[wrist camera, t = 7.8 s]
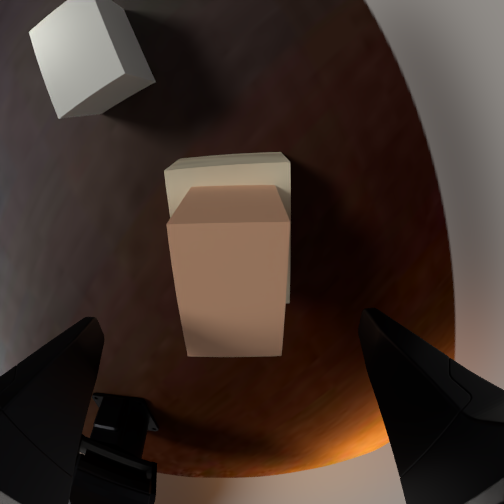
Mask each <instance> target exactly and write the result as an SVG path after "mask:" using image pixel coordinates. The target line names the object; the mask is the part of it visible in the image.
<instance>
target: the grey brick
mask: <svg viewBox="0 0 504 504" xmlns="http://www.w3.org/2000/svg"><path fill="white" fill-rule="evenodd" d="M29 34H30V37H31V41H32V44H33V48H34V51H35V54H36V58H37V61H38V64H39V67H40V70H41V73H42V76H43V79H44V81H45V84H46V87H47V90H48V92H49V95H50V98H51V100H52V103H53V106H54V108H55V111H56V113H57V116H58V118H59V119H63V118H70V117H78V116H87V115H97V114H102V113H104V112H105V111H107V110H109V109H110V108H112V107H113V106H115V105H116V104H118V103H120V102H121V101H123V100H125V99H126V98H128V97H130V96H132V95H133V94H135V93H137V92H139V91H140V90H142V89H144V88H146V87H148V86H149V85H151V84H153V83H155V82H156V81H155V79H154V77H153V74H152V72H151V70H150V68H149V66H148V63H147V61H146V59H145V57H144V54H143V52H142V50H141V48H140V45H139V43H138V41H137V38H136V36H135V34H134V32H133V29H132V27H131V25H130V22H129V20H128V18H127V16H126V13H125V11H124V9H123V8H121V7H120V6H119V5H117V4H116V3H114V2H113V1H112V0H67V1H66V2H65V3H63V4H62V5H61V6H59V7H58V8H57V9H55V10H54V11H53V12H52V13H50V14H49V15H48V16H47V17H46V18H44V19H43V20H42V21H41V22H40V23H39V24H37V25H36V26H35V27H34V28H33V29H32V30H31V31H30V32H29Z"/></svg>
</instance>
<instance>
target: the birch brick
mask: <svg viewBox="0 0 504 504" xmlns="http://www.w3.org/2000/svg"><path fill="white" fill-rule="evenodd" d="M164 174H165V182H166V190H167V197H168V205H169V212H170V218H171V217H172V215H173V214H174V212H175V210H176V209H177V207H178V206H179V204H180V203H181V201H182V200H183V198H184V197H185V195H186V194H187V192H188V191H189V189H190V188H191V187H198V186H231V185H275V186H276V189H277V191H278V193H279V196H280V198H281V201H282V203H283V205H284V208H285V210H286V213H287V215H288V218H289V220H290V238H289V256H288V273H287V289H286V303H290V255H291V174H290V161H289V160H288V159H287V158H286V157H285V156H284V155H283V154H282V153H281V152H268V153H246V154H229V155H215V156H203V157H193V158H183V159H179V160H177V161H176V162H175V163H173V164H172V165H171V166H170V167H168V168H167V169H166V170H164Z"/></svg>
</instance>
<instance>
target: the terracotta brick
mask: <svg viewBox="0 0 504 504" xmlns="http://www.w3.org/2000/svg"><path fill="white" fill-rule="evenodd" d="M167 232H168V240H169V248H170V255H171V262H172V269H173V276H174V282H175V289H176V295H177V301H178V307H179V312H180V318H181V323H182V329H183V334H184V339H185V344H186V349H187V354H188V356H196V357H258V356H281V354H282V342H283V330H284V317H285V303H286V289H287V273H288V256H289V238H290V220H289V218H288V215H287V213H286V210H285V208H284V205H283V203H282V201H281V198H280V196H279V193H278V191H277V189H276V186H275V185H231V186H198V187H191V188H190V189H189V191H188V192H187V194H186V195H185V197H184V198H183V200H182V201H181V203H180V204H179V206H178V207H177V209H176V210H175V212H174V214H173V215H172V217H171V218H170V220H169V221H168V223H167Z"/></svg>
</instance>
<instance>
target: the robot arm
mask: <svg viewBox="0 0 504 504" xmlns="http://www.w3.org/2000/svg"><path fill="white" fill-rule="evenodd" d="M358 333H359V338H360V342H361V346H362V351H363V355H364V360H365V364H366V368H367V372H368V376H369V379H370V382H371V384H372V387H373V390H374V393H375V396H376V399H377V402H378V405H379V409H380V412H381V415H382V418H383V421H384V424H385V428H386V431H387V434H388V437H389V441H390V444H391V447H392V451H393V454H394V458H395V462H396V465H397V468H398V472H399V476H400V477H401V478H400V481H401V484H402V488H403V492H404V496H405V500H406V504H504V390H503V389H501V388H499V387H497V386H495V385H494V384H492V383H490V382H488V381H487V380H485V379H483V378H481V377H479V376H478V375H476V374H474V373H473V372H471V371H469V370H468V369H466V368H465V367H463V366H461V365H460V364H458V363H457V362H456V361H454V360H453V359H451V358H449V357H448V356H447V355H445V354H444V353H442V352H441V351H439V350H438V349H436V348H435V347H433V346H432V345H430V344H429V343H427V342H426V341H424V340H423V339H421V338H420V337H418V336H417V335H415V334H414V333H412V332H411V331H409V330H408V329H406V328H405V327H403V326H402V325H400V324H399V323H397V322H396V321H394V320H393V319H391V318H390V317H388V316H387V315H385V314H384V313H382V312H381V311H379V310H378V309H376V308H367V309H364V310H363V311H362V315H361V319H360V324H359V328H358ZM103 345H104V334H103V332H102V330H101V327H100V325H99V322H98V320H97V319H96V318H95V317H85V318H83V319H82V320H80V321H79V322H77V323H76V324H74V325H73V326H71V327H70V328H68V329H67V330H66V331H64V332H63V333H61V334H60V335H58V336H57V337H55V338H54V339H53V340H51V341H50V342H48V343H47V344H45V345H44V346H42V347H41V348H40V349H38V350H37V351H35V352H34V353H33V354H31V355H30V356H28V357H27V358H26V359H24V360H23V361H21V362H20V363H19V364H17V366H14V367H13V368H12V369H10V370H9V371H7V372H6V373H5V374H3V375H2V376H0V504H154V502H155V496H156V475H157V463H155V462H149V461H146V460H143V459H142V454H143V449H144V444H145V439H146V435H147V430H151V431H158V429H159V427H158V425H157V423H156V421H155V419H154V417H153V416H152V414H151V412H150V410H149V408H148V406H147V404H146V402H145V401H144V400H143V399H140V398H131V397H122V396H114V395H107V394H100V393H93V395H92V392H93V389H94V386H95V382H96V378H97V374H98V369H99V364H100V359H101V354H102V349H103ZM91 396H92V398H93V399H94V401H95V402H96V404H97V405H98V407H99V410H98V413H97V415H96V418H95V421H94V427H93V430H92V433H91V436H90V438H88V437H85V436H84V435H83V434H82V430H83V426H84V422H85V418H86V414H87V411H88V407H89V403H90V400H91ZM80 452H81V453H84V454H85V455H84V454H79V453H80Z"/></svg>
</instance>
